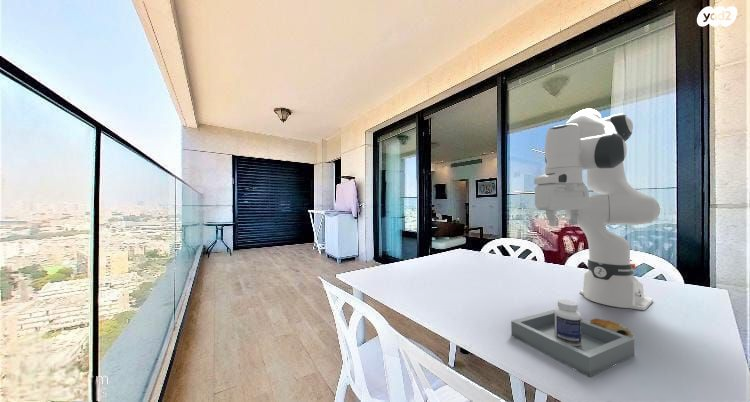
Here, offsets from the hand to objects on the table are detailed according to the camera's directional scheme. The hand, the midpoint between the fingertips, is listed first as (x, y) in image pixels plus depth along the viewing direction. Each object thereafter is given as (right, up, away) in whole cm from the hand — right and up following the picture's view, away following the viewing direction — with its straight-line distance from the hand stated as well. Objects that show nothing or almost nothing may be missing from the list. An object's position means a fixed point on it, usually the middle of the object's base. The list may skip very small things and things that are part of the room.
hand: (563, 225), depth 75 cm
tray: (-7, -29, -11) cm, 32 cm away
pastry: (+8, -30, -6) cm, 31 cm away
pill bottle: (-7, -28, -11) cm, 31 cm away
